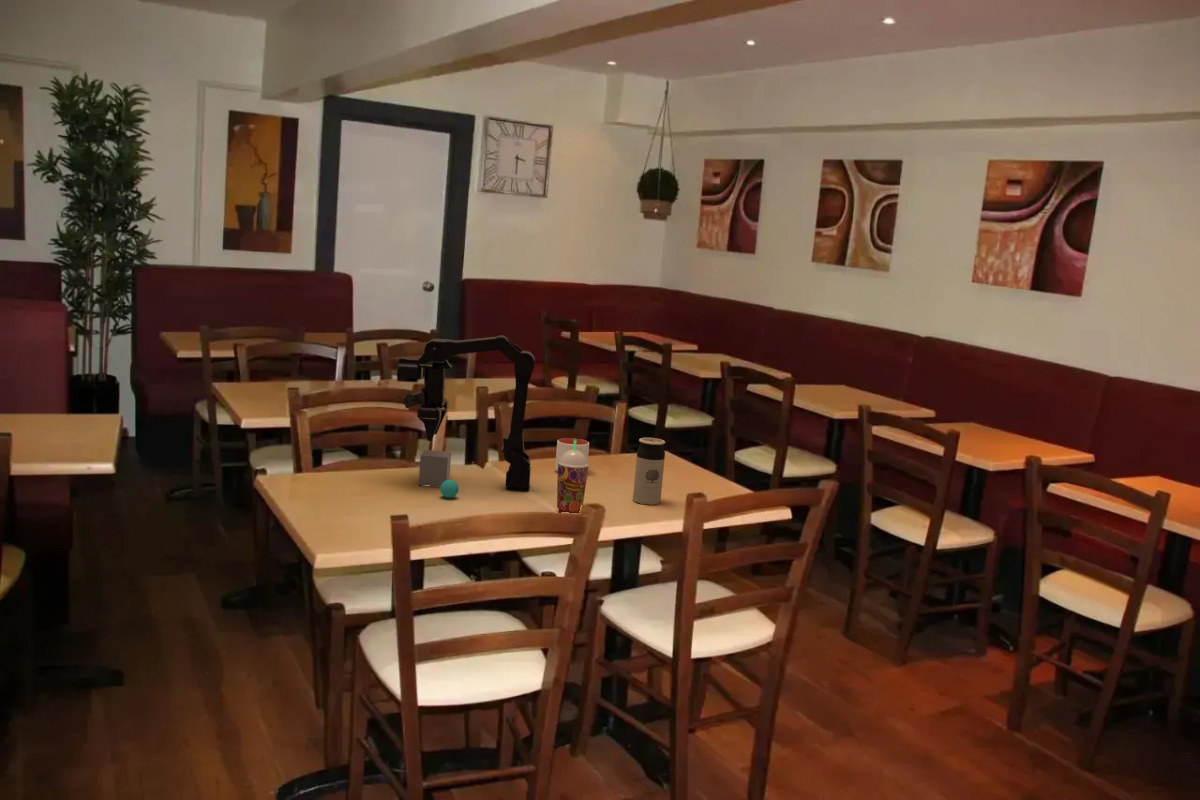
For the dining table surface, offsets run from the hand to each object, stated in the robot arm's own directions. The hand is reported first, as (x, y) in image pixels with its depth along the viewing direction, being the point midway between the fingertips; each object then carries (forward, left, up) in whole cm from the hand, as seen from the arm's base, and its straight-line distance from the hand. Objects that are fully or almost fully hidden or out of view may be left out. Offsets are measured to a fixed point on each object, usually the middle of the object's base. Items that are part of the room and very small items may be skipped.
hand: (432, 437), depth 290 cm
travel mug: (-62, +3, -13) cm, 64 cm away
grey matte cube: (-1, +1, -13) cm, 13 cm away
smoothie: (-40, +21, -13) cm, 47 cm away
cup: (-40, -26, -14) cm, 50 cm away
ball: (-7, +15, -11) cm, 20 cm away
